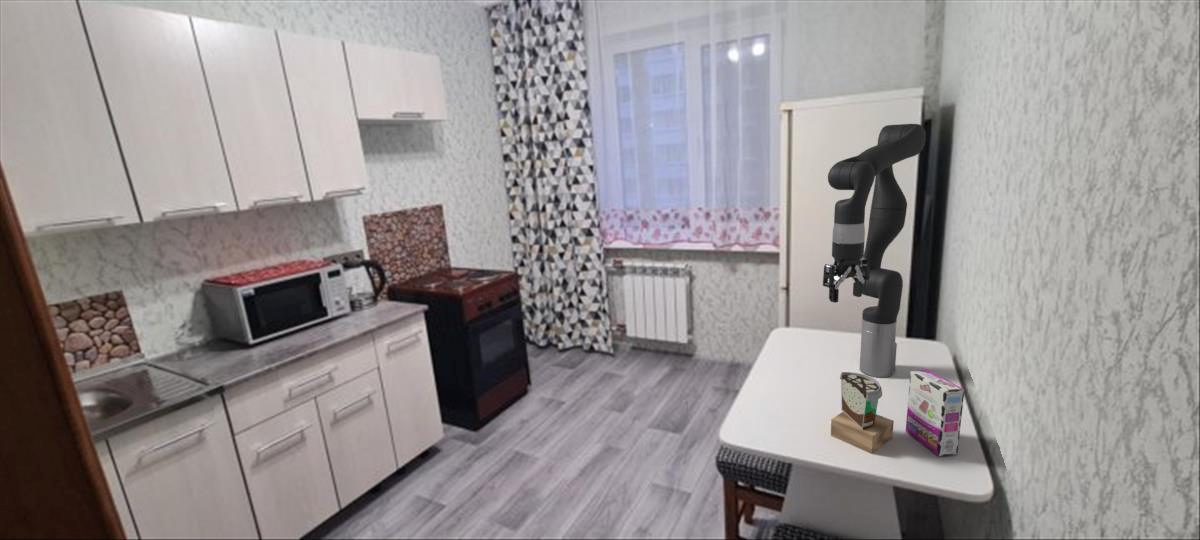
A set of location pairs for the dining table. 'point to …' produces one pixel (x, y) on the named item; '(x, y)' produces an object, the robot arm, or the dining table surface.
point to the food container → (860, 398)
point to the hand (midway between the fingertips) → (845, 299)
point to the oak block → (862, 432)
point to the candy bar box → (934, 412)
